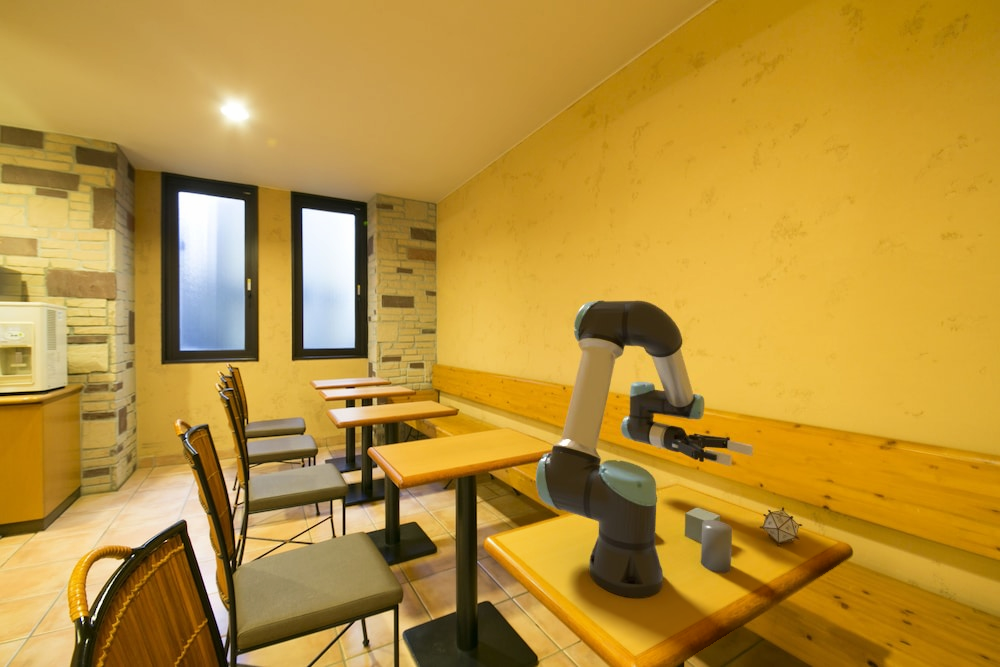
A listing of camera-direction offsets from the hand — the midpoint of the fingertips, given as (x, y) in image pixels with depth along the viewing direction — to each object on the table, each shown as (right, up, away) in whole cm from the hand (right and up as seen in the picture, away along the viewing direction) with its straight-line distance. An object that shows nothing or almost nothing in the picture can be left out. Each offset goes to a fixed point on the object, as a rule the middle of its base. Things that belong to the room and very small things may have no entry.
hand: (742, 455), depth 114 cm
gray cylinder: (-17, -20, -18) cm, 32 cm away
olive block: (-14, -19, -6) cm, 24 cm away
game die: (+5, -20, -7) cm, 22 cm away
